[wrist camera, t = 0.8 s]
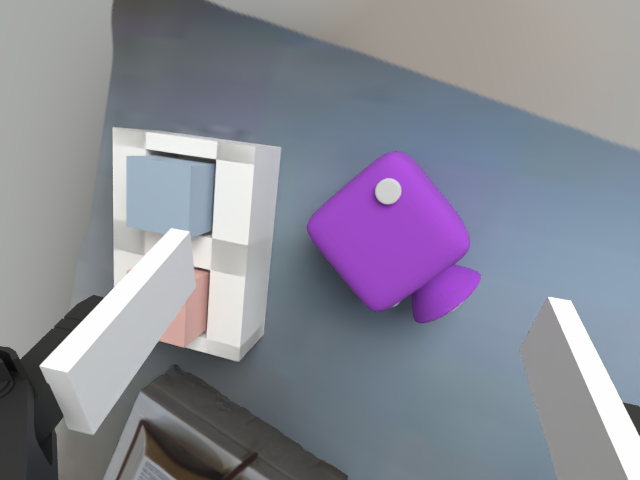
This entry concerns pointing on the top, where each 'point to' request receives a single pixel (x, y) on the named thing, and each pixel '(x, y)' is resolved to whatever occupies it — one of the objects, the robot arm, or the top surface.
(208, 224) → the key slate
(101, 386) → the robot arm
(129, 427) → the bible
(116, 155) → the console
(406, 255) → the toy camera
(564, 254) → the top surface
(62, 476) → the top surface
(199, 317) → the key rose
